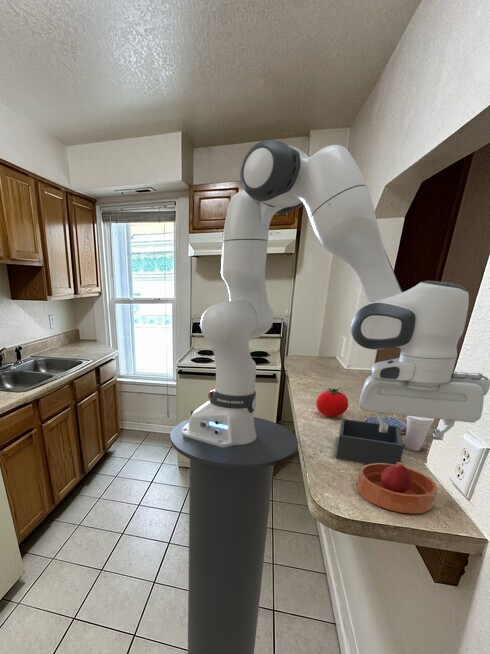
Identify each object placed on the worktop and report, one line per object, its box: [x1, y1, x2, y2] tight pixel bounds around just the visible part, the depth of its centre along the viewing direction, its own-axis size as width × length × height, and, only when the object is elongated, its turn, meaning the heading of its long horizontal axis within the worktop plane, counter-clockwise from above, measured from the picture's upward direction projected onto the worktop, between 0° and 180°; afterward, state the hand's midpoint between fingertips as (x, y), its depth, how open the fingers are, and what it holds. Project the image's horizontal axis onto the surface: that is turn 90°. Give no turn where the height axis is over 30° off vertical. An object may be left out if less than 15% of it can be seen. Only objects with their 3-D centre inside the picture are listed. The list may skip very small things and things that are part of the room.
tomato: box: [315, 387, 349, 418], centre depth 125 cm, size 10×10×10 cm
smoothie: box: [404, 415, 435, 452], centre depth 99 cm, size 6×6×14 cm
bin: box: [335, 418, 405, 465], centre depth 98 cm, size 15×15×7 cm
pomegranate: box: [381, 461, 413, 494], centre depth 77 cm, size 6×6×8 cm
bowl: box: [356, 463, 438, 515], centre depth 78 cm, size 14×14×4 cm
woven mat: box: [363, 416, 407, 435], centre depth 115 cm, size 10×11×2 cm
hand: (409, 435), depth 73 cm, fingers open, 8 cm apart
